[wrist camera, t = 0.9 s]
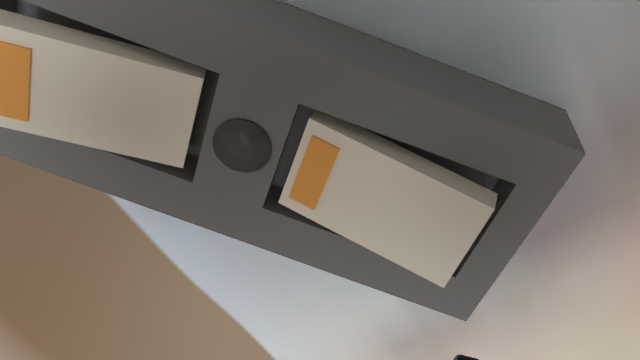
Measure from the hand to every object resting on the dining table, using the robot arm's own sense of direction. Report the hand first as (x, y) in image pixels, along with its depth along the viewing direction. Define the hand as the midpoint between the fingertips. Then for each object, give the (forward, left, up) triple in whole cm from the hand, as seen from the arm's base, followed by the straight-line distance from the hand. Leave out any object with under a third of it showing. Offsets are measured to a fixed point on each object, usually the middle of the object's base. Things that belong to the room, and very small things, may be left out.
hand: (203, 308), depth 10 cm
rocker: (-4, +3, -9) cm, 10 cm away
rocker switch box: (+1, +3, -12) cm, 13 cm away
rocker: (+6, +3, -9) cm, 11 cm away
